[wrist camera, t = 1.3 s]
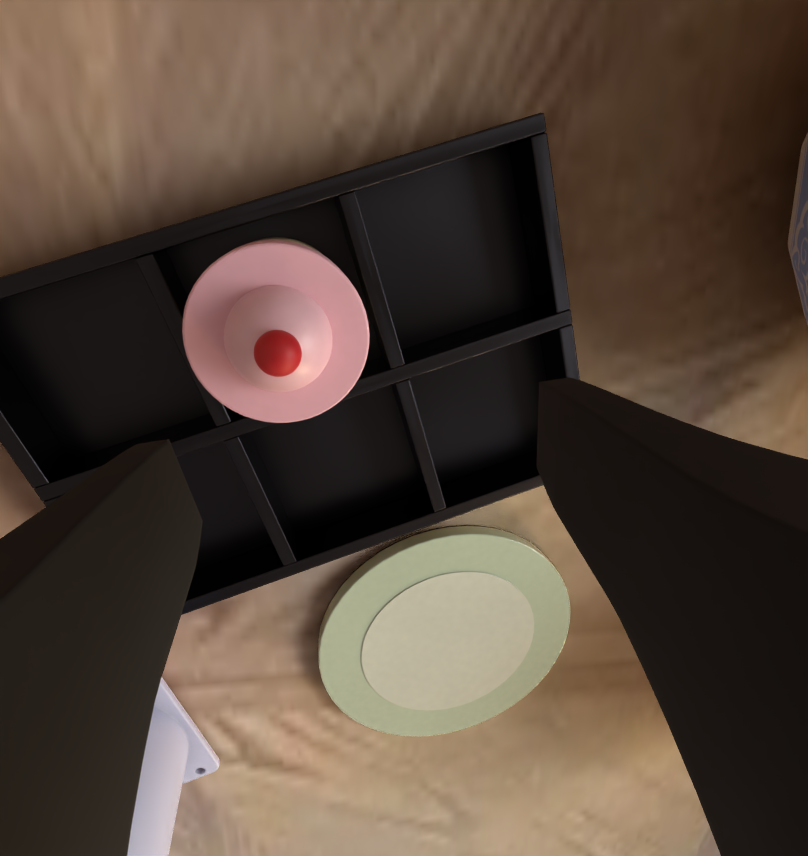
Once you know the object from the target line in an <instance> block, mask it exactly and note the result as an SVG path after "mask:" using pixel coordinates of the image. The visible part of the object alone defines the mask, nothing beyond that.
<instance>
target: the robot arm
mask: <svg viewBox="0 0 808 856" xmlns="http://www.w3.org/2000/svg"><path fill="white" fill-rule="evenodd" d="M537 469H538V472H539V474H540V477H541V479H542V482H543V484H544V487H545V489H546V491H547V494H548V496H549V498H550V500H551V503H552V505H553V507H554V509H555V511H556V512H557V514H558V516H559V518H560V519H561V521H562V523H563V524H564V526H565V528H566V529H567V531H568V533H569V534H570V536H571V538H572V539H573V541H574V543H575V544H576V546H577V548H578V549H579V551H580V552H581V554H582V556H583V557H584V559H585V561H586V562H587V564H588V566H589V567H590V569H591V570H592V572H593V574H594V575H595V577H596V579H597V580H598V582H599V584H600V585H601V587H602V588H603V590H604V592H605V593H606V595H607V597H608V598H609V600H610V602H611V604H612V606H613V607H614V609H615V611H616V613H617V615H618V617H619V618H620V620H621V622H622V624H623V627H624V629H625V631H626V633H627V635H628V637H629V639H630V641H631V644H632V646H633V648H634V650H635V652H636V654H637V656H638V658H639V660H640V663H641V665H642V667H643V669H644V671H645V673H646V676H647V678H648V680H649V682H650V685H651V687H652V689H653V691H654V694H655V696H656V698H657V700H658V703H659V705H660V707H661V709H662V712H663V714H664V716H665V718H666V721H667V723H668V725H669V728H670V730H671V732H672V735H673V737H674V740H675V742H676V744H677V747H678V749H679V752H680V754H681V756H682V759H683V761H684V764H685V766H686V768H687V771H688V773H689V776H690V778H691V780H692V783H693V785H694V788H695V790H696V792H697V795H698V797H699V800H700V803H701V805H702V808H703V810H704V813H705V815H706V818H707V821H708V823H709V826H710V828H711V831H712V833H713V836H714V839H715V841H716V844H717V846H718V849H719V852H720V854H721V856H808V460H807V459H803V458H799V457H795V456H791V455H787V454H783V453H780V452H776V451H773V450H769V449H766V448H762V447H759V446H755V445H751V444H748V443H744V442H741V441H738V440H734V439H731V438H728V437H725V436H722V435H719V434H716V433H713V432H710V431H707V430H705V429H702V428H699V427H696V426H693V425H691V424H688V423H685V422H682V421H680V420H677V419H674V418H672V417H669V416H667V415H664V414H661V413H659V412H656V411H654V410H651V409H649V408H647V407H644V406H642V405H639V404H637V403H634V402H632V401H630V400H627V399H625V398H623V397H620V396H618V395H615V394H613V393H611V392H608V391H606V390H603V389H601V388H599V387H596V386H593V385H591V384H588V383H586V382H583V381H580V380H577V379H574V378H570V377H569V378H562V379H556V380H549V381H543V382H539V402H538V435H537ZM202 523H203V520H202V518H201V516H200V513H199V511H198V508H197V506H196V503H195V501H194V499H193V496H192V494H191V491H190V489H189V486H188V484H187V482H186V479H185V477H184V474H183V472H182V469H181V467H180V465H179V462H178V460H177V457H176V455H175V452H174V450H173V448H172V445H171V443H170V440H169V439H166V440H160V441H153V442H147V443H140V444H136V445H134V446H132V447H131V448H129V449H127V450H125V451H124V452H122V453H121V454H119V455H118V456H116V457H115V458H113V459H112V460H110V461H109V462H107V463H106V464H105V465H103V466H102V467H100V468H99V469H98V470H96V471H95V472H94V473H92V474H91V475H90V476H88V477H87V478H85V479H84V480H83V481H81V482H80V483H79V484H77V485H76V486H74V487H73V488H72V489H70V490H69V491H68V492H66V493H65V494H64V495H62V496H61V497H59V498H58V499H57V500H55V501H54V502H53V503H51V504H50V505H49V506H47V507H46V508H44V509H43V510H42V511H40V512H39V513H37V514H36V515H34V516H33V517H31V518H30V519H29V520H27V521H26V522H24V523H23V524H21V525H20V526H18V527H17V528H15V529H14V530H13V531H11V532H10V533H8V534H7V535H5V536H4V537H2V538H1V539H0V856H168V855H169V850H170V845H171V840H172V835H173V829H174V824H175V819H176V814H177V808H178V803H179V798H180V793H181V788H182V784H184V783H187V782H189V781H192V780H194V779H197V778H200V777H202V776H205V775H208V774H210V773H213V772H215V771H216V770H217V769H218V768H219V762H220V760H219V758H218V756H217V755H216V753H215V752H214V750H213V749H212V748H211V746H210V745H209V743H208V742H207V741H206V739H205V738H204V736H203V735H202V733H201V732H200V731H199V729H198V728H197V726H196V725H195V723H194V722H193V721H192V719H191V718H190V716H189V715H188V714H187V712H186V711H185V709H184V708H183V706H182V705H181V704H180V702H179V701H178V699H177V698H176V696H175V695H174V694H173V692H172V691H171V689H170V688H169V687H168V685H167V684H166V682H165V681H164V679H163V678H162V674H163V671H164V667H165V664H166V661H167V658H168V655H169V652H170V648H171V645H172V642H173V639H174V636H175V633H176V629H177V626H178V623H179V620H180V617H181V614H182V611H183V607H184V604H185V601H186V598H187V594H188V591H189V588H190V585H191V581H192V578H193V575H194V571H195V568H196V563H197V557H198V551H199V545H200V538H201V530H202Z"/></svg>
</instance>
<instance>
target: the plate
mask: <svg viewBox="0 0 808 856" xmlns="http://www.w3.org/2000/svg"><path fill="white" fill-rule="evenodd" d="M569 625H570V601H569V596H568V592H567V588H566V586H565V583H564V581H563V579H562V577H561V575H560V574H559V572H558V571H557V570H556V568H555V567H554V565H553V564H552V563H551V561H550V560H549V559H548V557H547V556H546V555H545V554H544V553H543V552H542V551H541V550H540V549H538V548H537V547H536V546H534V545H533V544H531V543H530V542H528V541H527V540H525V539H523V538H521V537H519V536H517V535H515V534H512V533H509V532H506V531H503V530H500V529H494V528H489V527H483V526H455V527H446V528H440V529H435V530H430V531H427V532H423V533H420V534H417V535H413V536H411V537H409V538H406V539H404V540H402V541H399V542H397V543H395V544H393V545H391V546H389V547H388V548H386V549H384V550H382V551H380V552H379V553H378V554H376V555H375V556H373V557H372V558H370V559H369V560H368V561H366V562H365V563H364V564H363V565H362V566H360V567H359V568H358V569H357V570H356V571H355V572H354V573H353V574H352V575H351V576H350V577H349V578H348V579H347V580H346V581H345V583H344V584H343V585H342V586H341V587H340V589H339V590H338V592H337V593H336V595H335V596H334V598H333V599H332V601H331V603H330V605H329V607H328V609H327V611H326V613H325V615H324V618H323V621H322V624H321V627H320V632H319V639H318V662H319V670H320V675H321V679H322V682H323V684H324V687H325V689H326V691H327V693H328V694H329V696H330V697H331V699H332V701H333V702H334V703H335V704H336V705H337V706H338V707H339V709H340V710H341V711H342V712H344V713H345V714H346V715H347V716H349V717H350V718H351V719H353V720H355V721H356V722H358V723H360V724H361V725H363V726H366V727H368V728H371V729H373V730H376V731H380V732H383V733H387V734H392V735H399V736H415V737H420V736H434V735H440V734H447V733H451V732H455V731H459V730H463V729H466V728H469V727H472V726H475V725H477V724H480V723H482V722H484V721H487V720H489V719H491V718H493V717H495V716H497V715H498V714H500V713H502V712H504V711H505V710H507V709H508V708H510V707H511V706H513V705H514V704H516V703H517V702H519V701H520V700H521V699H522V698H524V697H525V696H526V695H527V694H529V693H530V692H531V691H532V690H533V689H534V688H535V687H536V686H537V685H538V684H539V683H540V682H541V680H542V679H543V678H544V677H545V676H546V674H547V673H548V672H549V671H550V669H551V668H552V666H553V665H554V663H555V662H556V660H557V658H558V656H559V654H560V652H561V650H562V648H563V646H564V643H565V640H566V637H567V634H568V629H569Z"/></svg>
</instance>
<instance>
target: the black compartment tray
mask: <svg viewBox="0 0 808 856" xmlns="http://www.w3.org/2000/svg"><path fill="white" fill-rule="evenodd" d="M545 131H546V125H545V117H544V113H538V114H535V115H532V116H528V117H525V118H522V119H519V120H515V121H512V122H509V123H505V124H502V125H499V126H496V127H492V128H489V129H486V130H482V131H479V132H476V133H473V134H469V135H466V136H463V137H459V138H456V139H453V140H450V141H446V142H443V143H440V144H436V145H433V146H430V147H427V148H423V149H420V150H417V151H413V152H410V153H407V154H404V155H400V156H397V157H394V158H390V159H387V160H384V161H381V162H377V163H374V164H371V165H367V166H364V167H361V168H357V169H354V170H351V171H348V172H344V173H341V174H338V175H334V176H331V177H328V178H325V179H321V180H318V181H315V182H311V183H308V184H305V185H302V186H298V187H295V188H292V189H288V190H285V191H282V192H279V193H275V194H272V195H269V196H265V197H262V198H259V199H256V200H252V201H249V202H246V203H242V204H239V205H236V206H233V207H229V208H226V209H223V210H219V211H216V212H213V213H210V214H206V215H203V216H200V217H196V218H193V219H190V220H187V221H183V222H180V223H177V224H173V225H170V226H167V227H164V228H160V229H157V230H154V231H150V232H147V233H144V234H141V235H137V236H134V237H131V238H127V239H124V240H121V241H117V242H114V243H111V244H108V245H104V246H101V247H98V248H94V249H91V250H88V251H85V252H81V253H78V254H75V255H71V256H68V257H65V258H62V259H58V260H55V261H52V262H48V263H45V264H42V265H39V266H35V267H32V268H29V269H25V270H22V271H19V272H16V273H12V274H9V275H6V276H2V277H0V441H1V443H2V444H3V446H4V447H5V449H6V450H7V452H8V453H9V454H10V456H11V457H12V459H13V460H14V462H15V463H16V464H17V466H18V467H19V469H20V470H21V472H22V473H23V474H24V476H25V477H26V479H27V480H28V482H29V483H30V484H31V486H32V487H33V488H34V490H35V491H36V493H37V494H38V496H39V497H40V499H41V500H42V501H44V504H45V506H46V507H47V506H49V505H50V504H51V503H53V502H54V501H55V500H57V499H58V498H59V497H61V496H62V495H64V494H65V493H66V492H68V491H69V490H70V489H72V488H73V487H74V486H76V485H77V484H79V483H80V482H81V481H83V480H84V479H85V478H87V477H88V476H90V475H91V474H92V473H94V472H95V471H96V470H98V469H99V468H100V467H102V466H103V465H105V464H106V463H107V462H109V461H110V460H112V459H113V458H115V457H116V456H118V455H119V454H121V453H122V452H124V451H125V450H127V449H129V448H131V447H132V446H134V445H136V444H140V443H147V442H153V441H160V440H166V439H169V440H170V443H171V445H172V448H173V450H174V452H175V455H176V457H177V460H178V462H179V465H180V467H181V469H182V472H183V474H184V477H185V479H186V482H187V484H188V486H189V489H190V491H191V494H192V496H193V499H194V501H195V503H196V506H197V508H198V511H199V513H200V516H201V518H202V520H203V523H202V530H201V538H200V545H199V551H198V557H197V563H196V568H195V571H194V575H193V578H192V581H191V585H190V588H189V591H188V594H187V598H186V601H185V604H184V607H183V611H182V614H185V613H188V612H191V611H193V610H196V609H199V608H202V607H205V606H207V605H210V604H213V603H216V602H219V601H221V600H224V599H227V598H230V597H233V596H235V595H238V594H241V593H244V592H246V591H249V590H252V589H255V588H258V587H260V586H263V585H266V584H269V583H272V582H274V581H277V580H280V579H283V578H286V577H288V576H291V575H294V574H297V573H299V572H302V571H305V570H308V569H311V568H313V567H316V566H319V565H322V564H325V563H327V562H330V561H333V560H336V559H339V558H341V557H344V556H347V555H350V554H352V553H355V552H358V551H361V550H364V549H366V548H369V547H372V546H375V545H378V544H380V543H383V542H386V541H389V540H392V539H394V538H397V537H400V536H403V535H405V534H408V533H411V532H414V531H417V530H419V529H422V528H425V527H428V526H431V525H433V524H436V523H439V522H442V521H445V520H447V519H450V518H453V517H456V516H459V515H461V514H464V513H467V512H470V511H472V510H475V509H478V508H481V507H484V506H486V505H489V504H492V503H495V502H498V501H500V500H503V499H506V498H509V497H512V496H514V495H517V494H520V493H523V492H525V491H528V490H531V489H534V488H537V487H539V486H542V485H544V484H543V482H542V479H541V477H540V474H539V472H538V469H537V435H538V402H539V382H543V381H549V380H556V379H562V378H569V377H570V378H574V379H577V380H580V378H579V370H578V363H577V355H576V348H575V341H574V333H573V326H572V317H571V310H570V303H569V296H568V288H567V281H566V273H565V266H564V258H563V251H562V244H561V236H560V229H559V221H558V214H557V206H556V199H555V191H554V184H553V177H552V169H551V162H550V154H549V147H548V139H547V133H545ZM270 237H285V238H290V239H295V240H298V241H301V242H304V243H306V244H308V245H310V246H312V247H313V248H315V249H317V250H318V251H319V252H321V253H322V254H323V255H324V256H326V257H327V258H328V259H329V260H331V261H332V262H333V263H334V264H335V265H336V266H337V267H338V268H339V269H340V270H341V271H342V272H343V273H344V274H345V275H346V277H347V278H348V279H349V280H350V282H351V283H352V285H353V286H354V287H355V289H356V291H357V292H358V294H359V296H360V298H361V300H362V303H363V305H364V308H365V311H366V315H367V319H368V324H369V333H370V334H369V349H368V356H367V359H366V363H365V366H364V368H363V371H362V373H361V375H360V377H359V379H358V380H357V382H356V384H355V385H354V387H353V388H352V389H351V390H350V392H349V393H348V394H347V395H346V396H345V397H344V398H343V399H342V400H341V401H340V402H339V403H337V404H336V405H334V406H333V407H332V408H330V409H329V410H327V411H325V412H323V413H321V414H319V415H317V416H314V417H312V418H309V419H305V420H301V421H296V422H289V423H273V422H264V421H260V420H255V419H252V418H249V417H246V416H243V415H241V414H239V413H237V412H235V411H232V410H231V409H229V408H228V407H226V406H224V405H223V404H222V403H220V402H219V401H218V400H217V399H215V398H214V397H213V396H212V395H211V394H210V393H209V392H208V391H207V390H206V389H205V388H204V386H203V385H202V384H201V382H200V381H199V380H198V378H197V377H196V375H195V373H194V371H193V370H192V368H191V366H190V363H189V361H188V358H187V355H186V352H185V348H184V343H183V334H182V322H183V314H184V309H185V305H186V302H187V299H188V296H189V294H190V292H191V290H192V288H193V286H194V284H195V283H196V281H197V280H198V278H199V277H200V276H201V274H202V273H203V272H204V271H205V270H206V269H207V268H208V267H209V266H210V265H211V264H212V263H214V262H215V261H216V260H217V259H219V258H220V257H222V256H223V255H225V254H226V253H228V252H230V251H232V250H233V249H235V248H237V247H240V246H242V245H245V244H247V243H251V242H253V241H256V240H259V239H263V238H270ZM182 614H181V615H182Z"/></svg>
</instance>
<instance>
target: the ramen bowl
mask: <svg viewBox="0 0 808 856" xmlns="http://www.w3.org/2000/svg"><path fill="white" fill-rule="evenodd" d="M787 245H788V249H789V253H790V257H791V262H792V266H793V270H794V274H795V278H796V282H797V287H798V291H799V295H800V299H801V303H802V307H803V312H804V316H805V319H806V323H807V327H808V133H807V135H806V137H805V140H804V142H803V144H802V147H801V153H800V160H799V167H798V174H797V181H796V188H795V195H794V202H793V209H792V216H791V223H790V230H789V237H788V244H787Z"/></svg>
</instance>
